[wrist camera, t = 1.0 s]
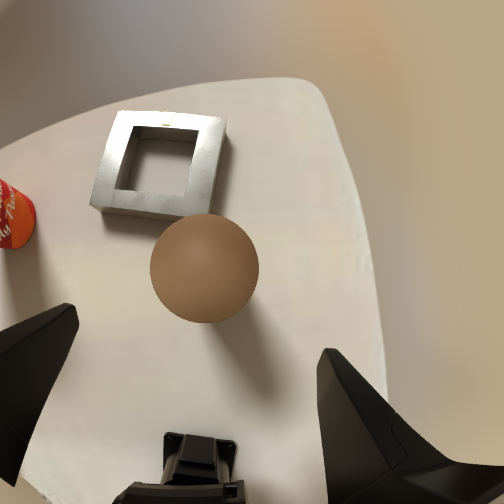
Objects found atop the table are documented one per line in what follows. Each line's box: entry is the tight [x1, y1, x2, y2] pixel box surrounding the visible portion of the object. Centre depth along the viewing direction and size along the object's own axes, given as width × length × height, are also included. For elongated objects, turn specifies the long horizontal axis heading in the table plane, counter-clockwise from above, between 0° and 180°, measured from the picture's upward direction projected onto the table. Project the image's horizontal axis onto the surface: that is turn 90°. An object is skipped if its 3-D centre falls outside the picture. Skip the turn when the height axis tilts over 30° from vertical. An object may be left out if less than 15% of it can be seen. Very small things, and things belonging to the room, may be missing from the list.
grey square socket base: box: [89, 111, 226, 222], centre depth 22 cm, size 9×10×3 cm
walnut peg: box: [150, 214, 259, 323], centre depth 17 cm, size 4×4×12 cm
